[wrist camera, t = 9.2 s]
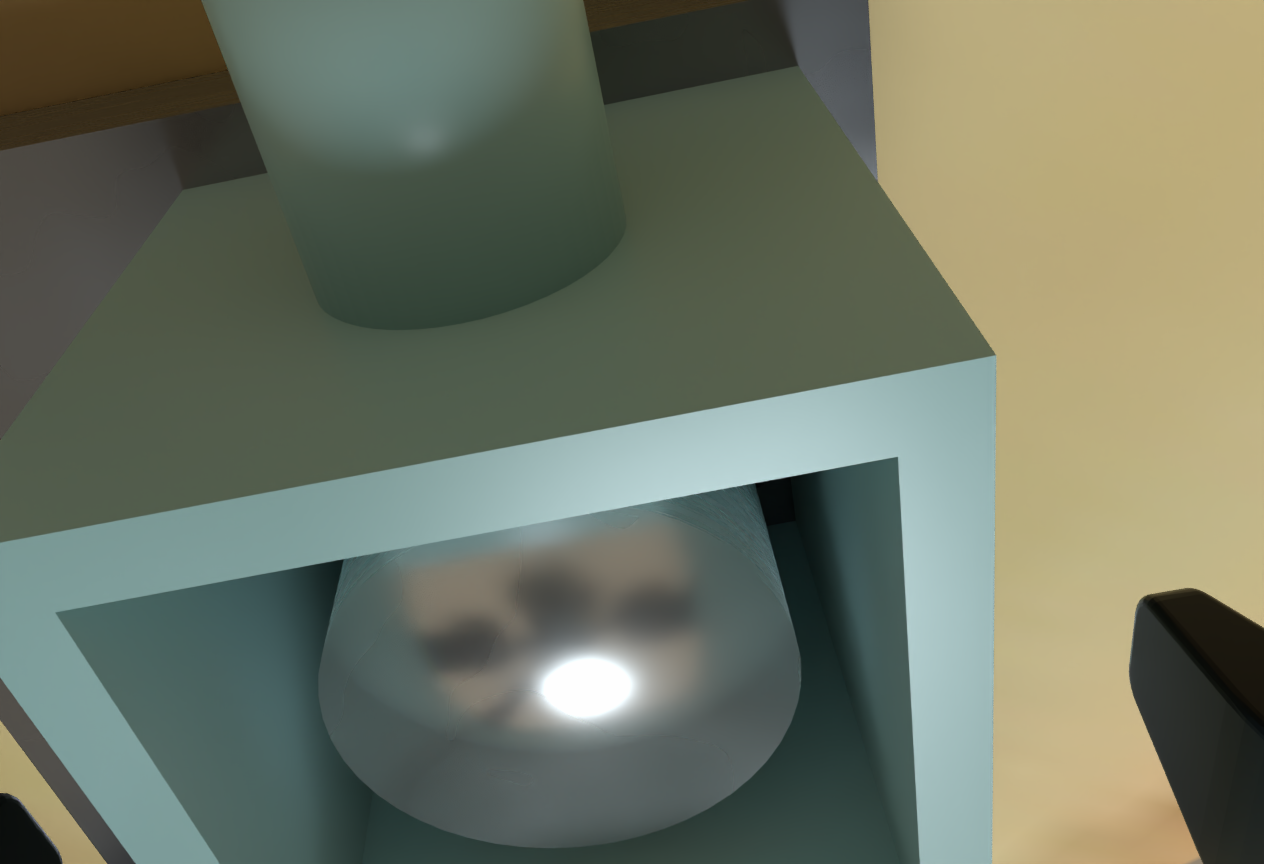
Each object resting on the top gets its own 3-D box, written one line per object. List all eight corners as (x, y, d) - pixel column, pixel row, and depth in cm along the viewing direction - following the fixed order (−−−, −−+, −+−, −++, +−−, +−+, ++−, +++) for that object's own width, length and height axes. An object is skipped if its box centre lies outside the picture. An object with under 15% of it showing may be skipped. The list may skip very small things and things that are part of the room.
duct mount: (895, 859, 22) (1012, 1246, 16) (256, 966, 22) (164, 1373, 17) (833, -52, 12) (1064, 149, 7) (-280, 172, 13) (-886, 525, 7)
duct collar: (374, 631, 15) (293, 1080, 10) (37, -144, 10) (-479, 23, 5) (843, 546, 15) (991, 966, 10) (764, -301, 10) (1003, -296, 5)
